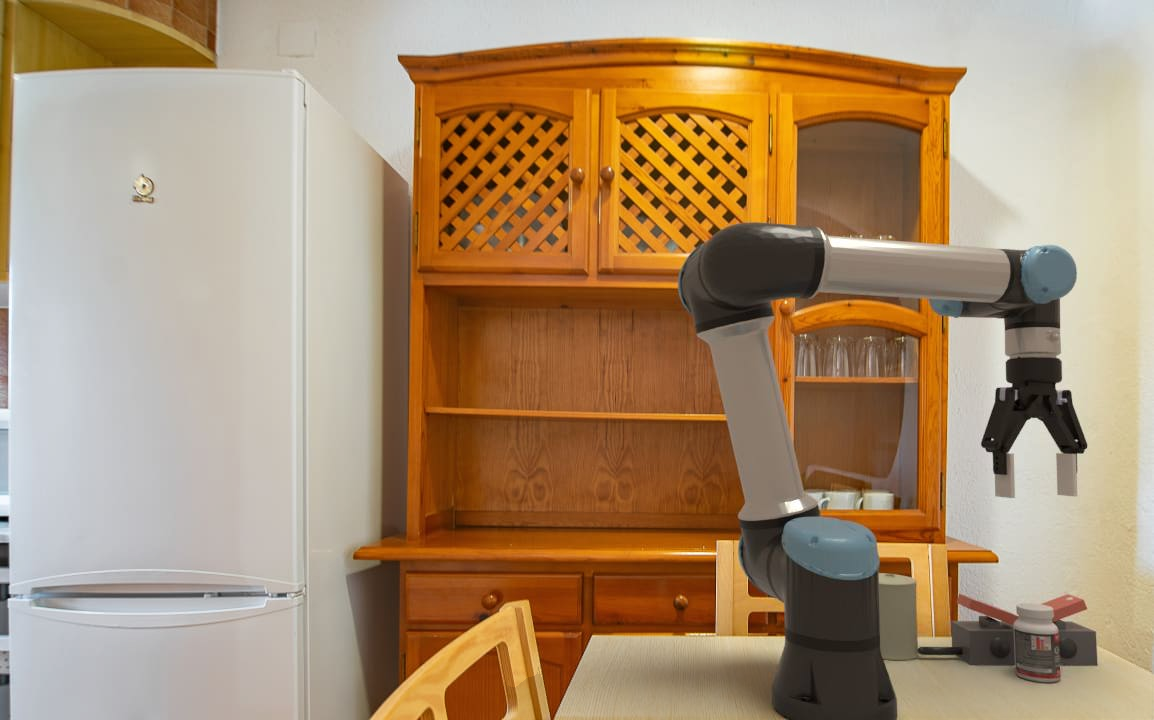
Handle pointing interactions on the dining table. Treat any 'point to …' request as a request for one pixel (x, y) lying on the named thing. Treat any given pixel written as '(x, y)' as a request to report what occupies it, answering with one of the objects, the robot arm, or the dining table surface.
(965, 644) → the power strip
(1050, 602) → the rocker
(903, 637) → the can
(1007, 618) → the rocker
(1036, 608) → the pill bottle
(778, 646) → the dining table surface
